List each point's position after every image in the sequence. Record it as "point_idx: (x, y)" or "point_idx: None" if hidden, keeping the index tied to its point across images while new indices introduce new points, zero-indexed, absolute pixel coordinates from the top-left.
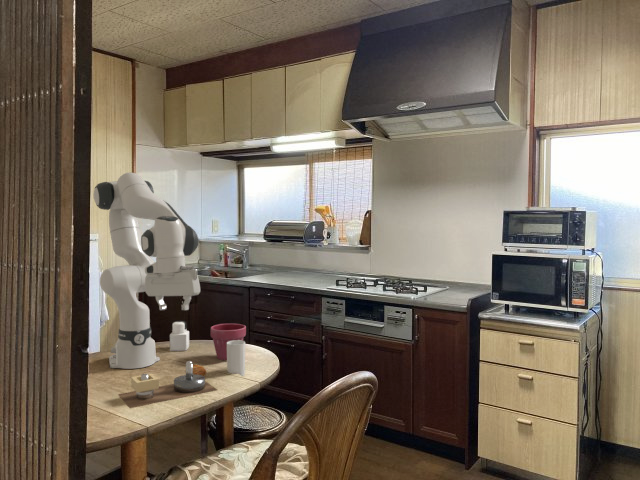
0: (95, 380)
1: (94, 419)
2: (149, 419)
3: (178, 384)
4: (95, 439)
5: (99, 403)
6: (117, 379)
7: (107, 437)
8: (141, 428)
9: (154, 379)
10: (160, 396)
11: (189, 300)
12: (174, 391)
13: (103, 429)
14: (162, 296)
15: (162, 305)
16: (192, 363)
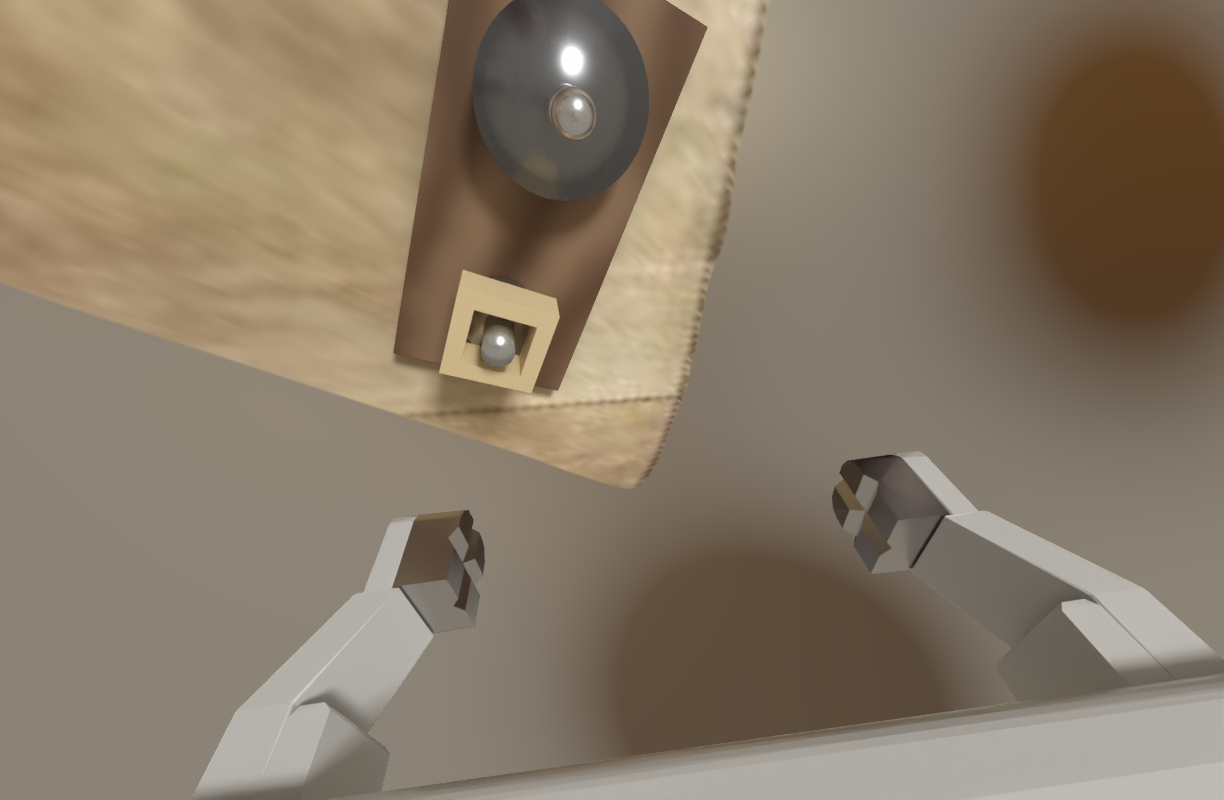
0: (11, 279)
1: (518, 451)
2: (643, 371)
3: (572, 198)
4: (626, 485)
5: (396, 398)
6: (50, 196)
7: (640, 469)
8: (670, 409)
9: (550, 331)
10: (545, 269)
11: (1066, 575)
12: None
13: (595, 460)
14: (326, 779)
15: (476, 615)
16: (592, 100)
